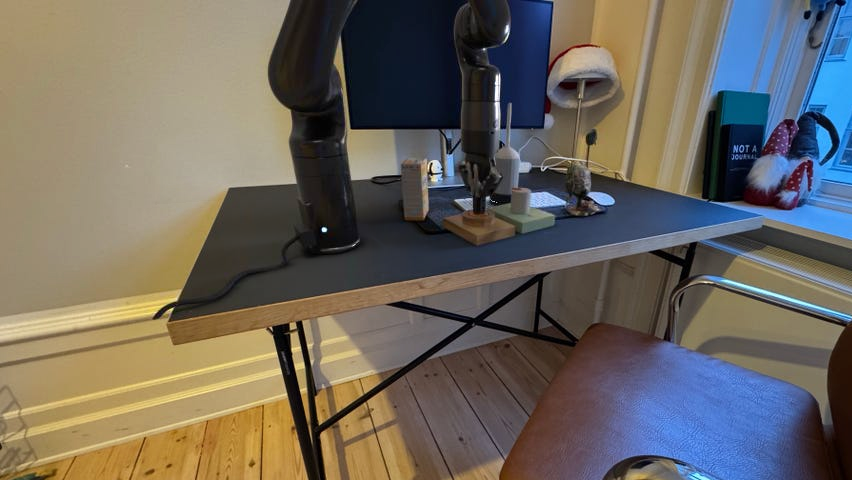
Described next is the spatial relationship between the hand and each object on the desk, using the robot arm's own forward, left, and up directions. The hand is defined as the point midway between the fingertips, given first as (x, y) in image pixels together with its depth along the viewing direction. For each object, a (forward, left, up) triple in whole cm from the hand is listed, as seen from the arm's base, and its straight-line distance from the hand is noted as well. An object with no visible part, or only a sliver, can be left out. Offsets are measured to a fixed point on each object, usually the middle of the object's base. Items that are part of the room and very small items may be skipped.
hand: (479, 213), depth 78 cm
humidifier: (+19, +14, -4) cm, 24 cm away
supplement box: (-6, +17, -4) cm, 19 cm away
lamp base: (0, 0, -4) cm, 4 cm away
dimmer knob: (+12, 0, -2) cm, 12 cm away
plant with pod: (+30, -3, -4) cm, 30 cm away
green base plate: (+12, 0, -4) cm, 13 cm away
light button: (0, 0, -2) cm, 2 cm away
